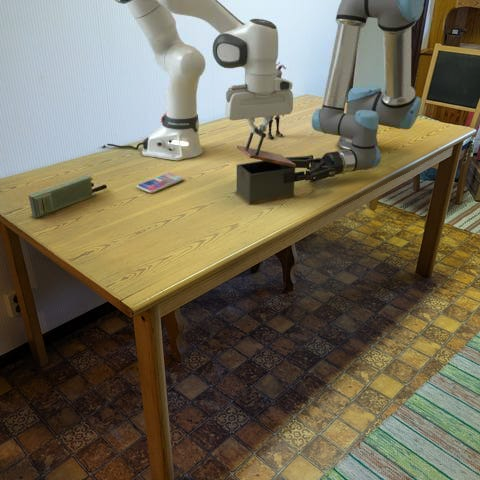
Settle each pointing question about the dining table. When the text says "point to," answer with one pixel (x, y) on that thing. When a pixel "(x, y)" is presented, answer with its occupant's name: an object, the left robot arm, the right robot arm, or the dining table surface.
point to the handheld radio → (62, 195)
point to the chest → (263, 181)
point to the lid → (263, 152)
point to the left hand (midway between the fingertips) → (258, 131)
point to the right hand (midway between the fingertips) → (277, 173)
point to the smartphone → (159, 182)
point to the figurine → (277, 115)
